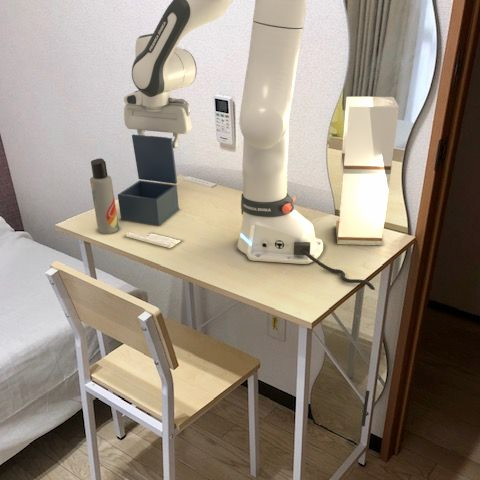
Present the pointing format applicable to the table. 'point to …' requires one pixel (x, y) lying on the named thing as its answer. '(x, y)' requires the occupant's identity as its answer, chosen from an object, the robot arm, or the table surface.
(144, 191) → the chest
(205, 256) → the table surface
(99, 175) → the lotion bottle
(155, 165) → the lid
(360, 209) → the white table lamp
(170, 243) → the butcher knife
